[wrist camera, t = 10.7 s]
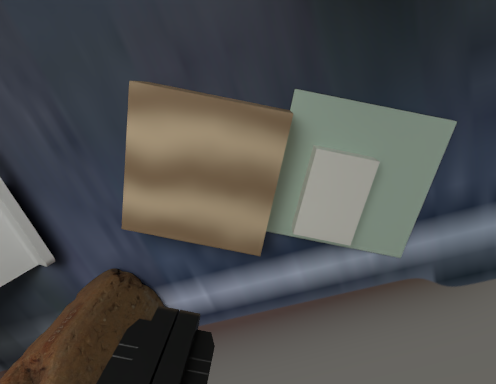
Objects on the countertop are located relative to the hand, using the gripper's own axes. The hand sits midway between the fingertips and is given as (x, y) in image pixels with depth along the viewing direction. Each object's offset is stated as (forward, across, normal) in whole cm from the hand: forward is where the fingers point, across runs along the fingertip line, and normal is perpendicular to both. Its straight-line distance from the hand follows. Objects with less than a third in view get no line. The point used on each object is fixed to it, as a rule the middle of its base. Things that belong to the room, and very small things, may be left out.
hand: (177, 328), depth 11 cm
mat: (+22, -12, -1) cm, 25 cm away
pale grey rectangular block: (+19, -10, 0) cm, 22 cm away
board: (+22, +3, 0) cm, 22 cm away
